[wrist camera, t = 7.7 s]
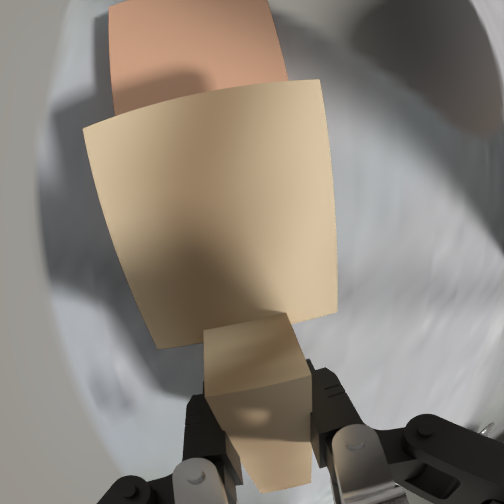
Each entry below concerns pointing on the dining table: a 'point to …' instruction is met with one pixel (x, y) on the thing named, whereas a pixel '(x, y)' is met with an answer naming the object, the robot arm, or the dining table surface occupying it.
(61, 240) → the dining table surface
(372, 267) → the dining table surface
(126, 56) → the tile
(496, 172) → the dining table surface
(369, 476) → the robot arm
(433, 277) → the dining table surface
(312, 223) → the turner
